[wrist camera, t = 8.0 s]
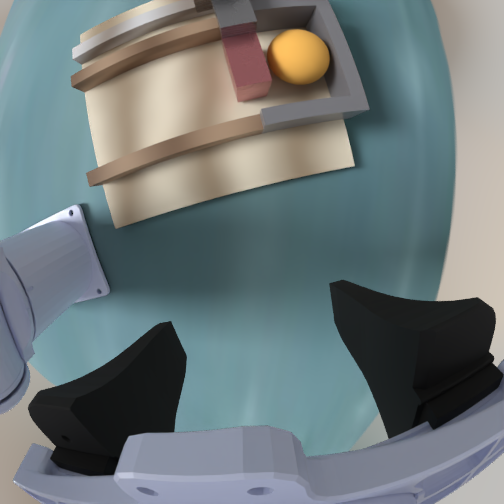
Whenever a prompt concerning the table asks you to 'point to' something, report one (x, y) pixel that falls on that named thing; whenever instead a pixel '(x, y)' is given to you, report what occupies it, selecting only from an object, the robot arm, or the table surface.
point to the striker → (240, 46)
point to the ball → (298, 57)
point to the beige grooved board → (187, 115)
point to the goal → (337, 75)
